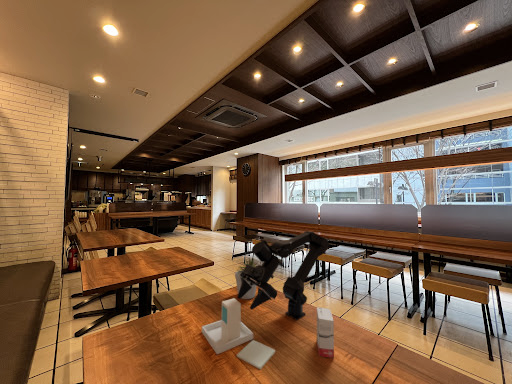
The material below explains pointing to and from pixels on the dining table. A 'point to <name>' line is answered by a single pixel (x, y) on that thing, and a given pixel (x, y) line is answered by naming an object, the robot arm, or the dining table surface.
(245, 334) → the parts tray
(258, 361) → the board
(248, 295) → the potted plant
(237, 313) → the carton
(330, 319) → the ink box
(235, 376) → the dining table surface
